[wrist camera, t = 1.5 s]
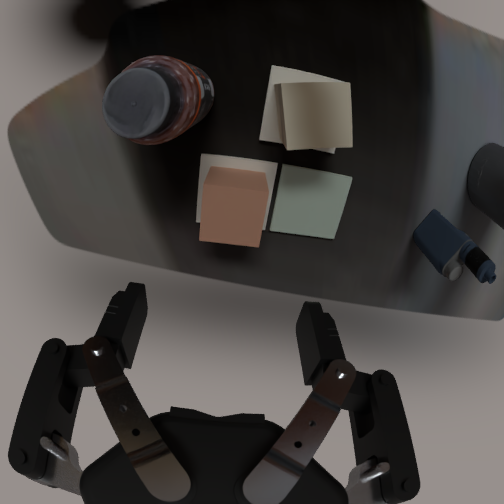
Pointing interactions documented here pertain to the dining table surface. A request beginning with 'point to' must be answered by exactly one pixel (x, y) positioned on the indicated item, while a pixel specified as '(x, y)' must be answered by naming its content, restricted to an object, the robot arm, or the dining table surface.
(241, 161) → the tile
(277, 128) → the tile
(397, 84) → the dining table surface
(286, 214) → the sage pad
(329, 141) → the maple block
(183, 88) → the supplement bottle
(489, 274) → the vaping device
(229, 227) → the terracotta block
